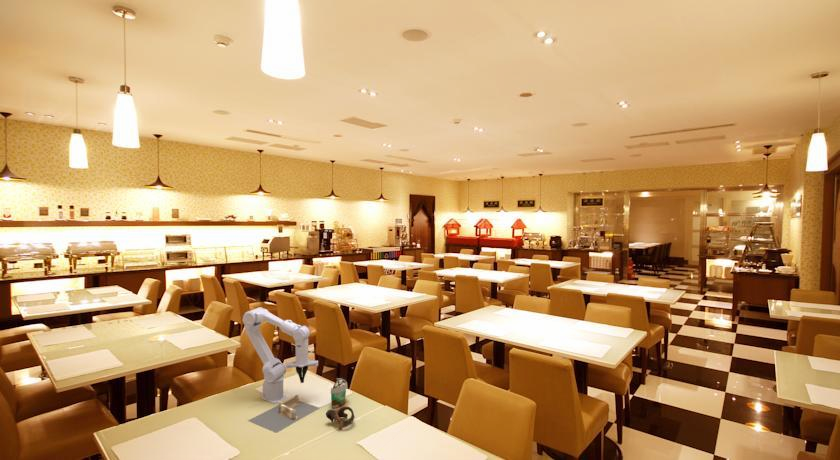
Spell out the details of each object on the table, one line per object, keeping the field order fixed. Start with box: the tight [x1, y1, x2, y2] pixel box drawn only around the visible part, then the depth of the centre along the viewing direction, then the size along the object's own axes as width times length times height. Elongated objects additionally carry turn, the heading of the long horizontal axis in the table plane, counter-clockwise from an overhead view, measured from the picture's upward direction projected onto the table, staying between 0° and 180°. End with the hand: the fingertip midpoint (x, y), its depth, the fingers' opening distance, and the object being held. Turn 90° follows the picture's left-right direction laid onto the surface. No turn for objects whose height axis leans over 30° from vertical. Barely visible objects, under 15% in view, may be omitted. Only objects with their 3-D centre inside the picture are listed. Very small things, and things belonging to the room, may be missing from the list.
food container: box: [330, 377, 349, 410], centre depth 185 cm, size 12×6×10 cm, turn 179°
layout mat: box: [247, 400, 320, 434], centre depth 175 cm, size 18×24×1 cm
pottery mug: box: [325, 405, 355, 431], centre depth 168 cm, size 12×10×8 cm
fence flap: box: [281, 404, 296, 419], centre depth 174 cm, size 9×2×4 cm, turn 54°
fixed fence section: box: [278, 394, 300, 413], centre depth 181 cm, size 2×11×4 cm, turn 149°
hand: (302, 382), depth 187 cm, fingers closed
